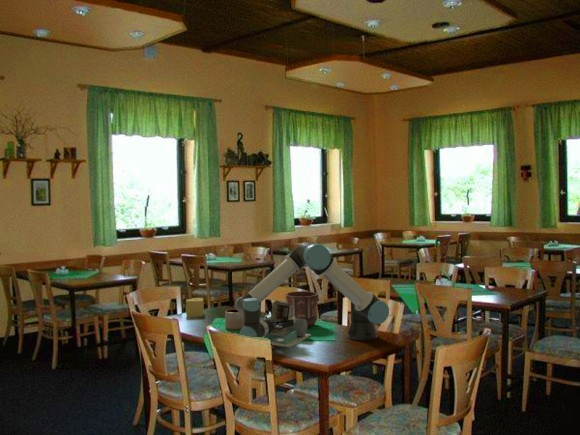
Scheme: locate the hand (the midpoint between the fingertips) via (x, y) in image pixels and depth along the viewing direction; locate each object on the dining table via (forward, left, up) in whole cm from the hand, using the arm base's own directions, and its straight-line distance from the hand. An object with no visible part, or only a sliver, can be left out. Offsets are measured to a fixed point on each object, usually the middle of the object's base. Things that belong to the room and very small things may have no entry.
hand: (284, 318), depth 311 cm
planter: (+38, -14, -12) cm, 43 cm away
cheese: (+79, -32, -12) cm, 86 cm away
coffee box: (+1, +4, -7) cm, 8 cm away
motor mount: (+1, -2, -11) cm, 11 cm away
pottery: (+7, -33, -12) cm, 36 cm away
